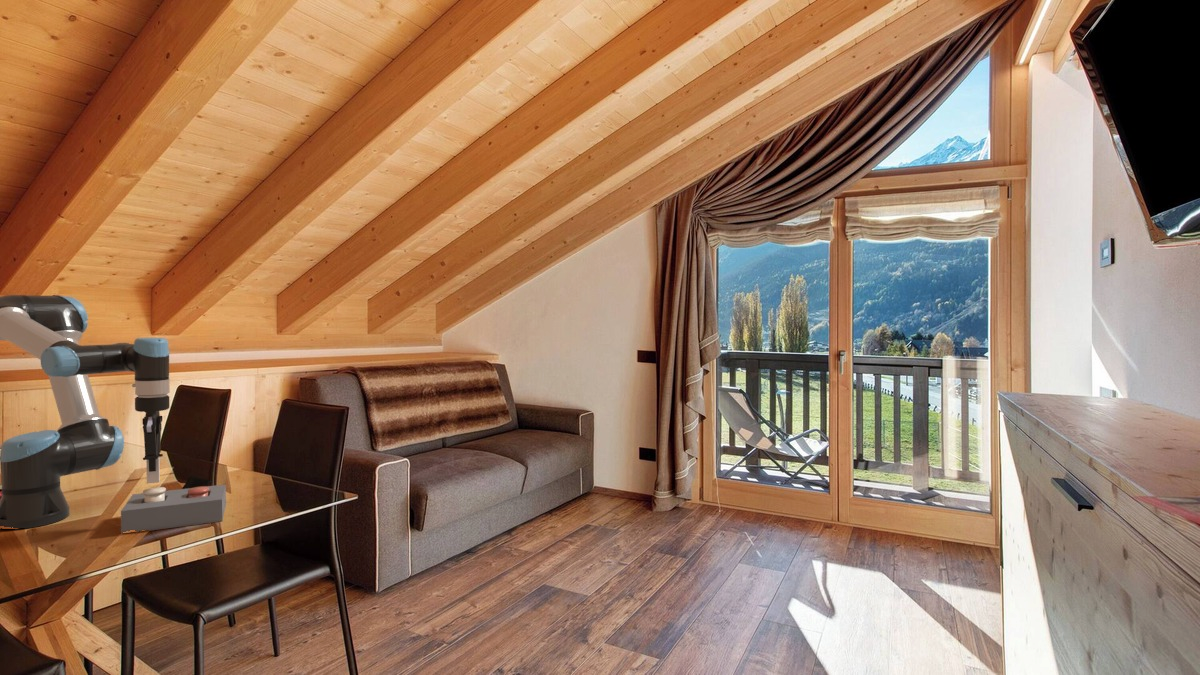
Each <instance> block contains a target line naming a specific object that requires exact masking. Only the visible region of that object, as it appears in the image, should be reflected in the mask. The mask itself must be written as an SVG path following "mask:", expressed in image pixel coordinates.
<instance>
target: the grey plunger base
mask: <svg viewBox="0 0 1200 675" xmlns="http://www.w3.org/2000/svg"><path fill="white" fill-rule="evenodd" d="M206 487H209V491H208V496H203V497H194V498H189V494H188V489H191V488H188V489H182V488H181V489H171V490H166V492H165V501H158V502H149V503H145V498H144V495H143V492H142V493H133V494H132V495H131V496H130V497H129V499H128V500H127V502H126V503H125V504H124V506H123V508H122V509H121V510H120V533H123V532H126V531H130V530H135V531H137V532H136V533H140V532H139V531H142V530H149V531H148V532H150V531H157V530H158V531H159V530H165V529H166V530H167V529H172V528H182V527H187V526H195V525H196V526H197V525H204V524H205V525H206V524H211V523H220V522H223V520H224V516H225V510H226V505H227V499H226V496H227V495H226V494H227V493H226V492H227V489H226V484H217V485H209V486H206Z"/></svg>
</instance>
